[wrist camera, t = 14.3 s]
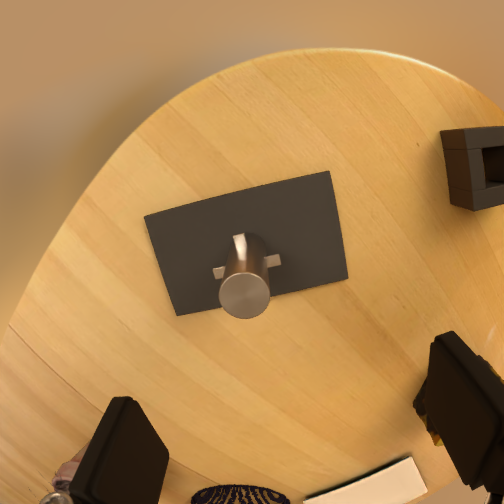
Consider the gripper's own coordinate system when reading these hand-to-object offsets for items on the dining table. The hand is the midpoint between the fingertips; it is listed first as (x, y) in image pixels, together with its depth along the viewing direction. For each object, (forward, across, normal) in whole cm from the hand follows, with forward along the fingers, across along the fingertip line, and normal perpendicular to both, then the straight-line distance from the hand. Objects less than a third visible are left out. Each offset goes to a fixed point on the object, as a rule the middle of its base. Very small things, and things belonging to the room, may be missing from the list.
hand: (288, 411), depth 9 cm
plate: (+26, -10, +60) cm, 66 cm away
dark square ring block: (+26, -26, -2) cm, 37 cm away
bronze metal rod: (+25, +2, +2) cm, 26 cm away
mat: (+26, +2, +2) cm, 26 cm away
